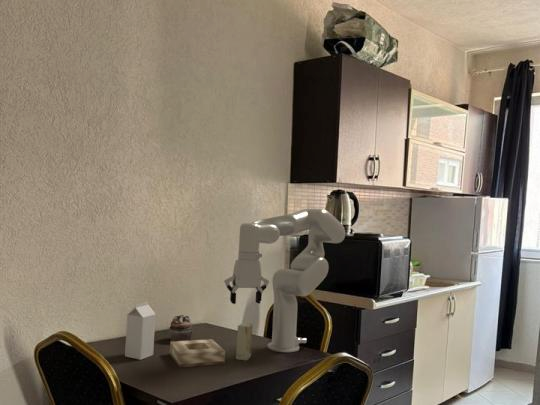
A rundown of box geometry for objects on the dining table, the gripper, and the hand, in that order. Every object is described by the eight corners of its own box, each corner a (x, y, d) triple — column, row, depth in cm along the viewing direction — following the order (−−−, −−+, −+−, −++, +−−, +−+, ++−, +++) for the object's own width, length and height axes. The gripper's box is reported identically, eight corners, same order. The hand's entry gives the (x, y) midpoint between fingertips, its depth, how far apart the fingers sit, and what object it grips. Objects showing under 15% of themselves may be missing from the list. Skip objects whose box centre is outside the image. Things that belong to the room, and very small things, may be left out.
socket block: (211, 351, 185) (212, 339, 185) (224, 363, 171) (225, 350, 171) (169, 354, 179) (170, 341, 179) (179, 367, 164) (180, 354, 164)
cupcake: (163, 340, 197) (164, 316, 197) (179, 336, 205) (181, 312, 205) (181, 345, 192) (182, 319, 192) (197, 340, 200) (198, 315, 200)
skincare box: (247, 361, 175) (248, 327, 175) (235, 359, 176) (237, 325, 176) (251, 356, 181) (252, 323, 182) (240, 354, 182) (241, 322, 183)
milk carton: (153, 355, 176) (156, 303, 177) (140, 360, 170) (143, 305, 170) (137, 352, 179) (140, 300, 180) (124, 356, 173) (127, 303, 173)
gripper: (265, 256, 186) (263, 301, 186) (223, 255, 180) (220, 301, 179) (273, 258, 180) (271, 304, 179) (229, 257, 173) (226, 305, 172)
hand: (245, 303), depth 179 cm, fingers open, 9 cm apart
